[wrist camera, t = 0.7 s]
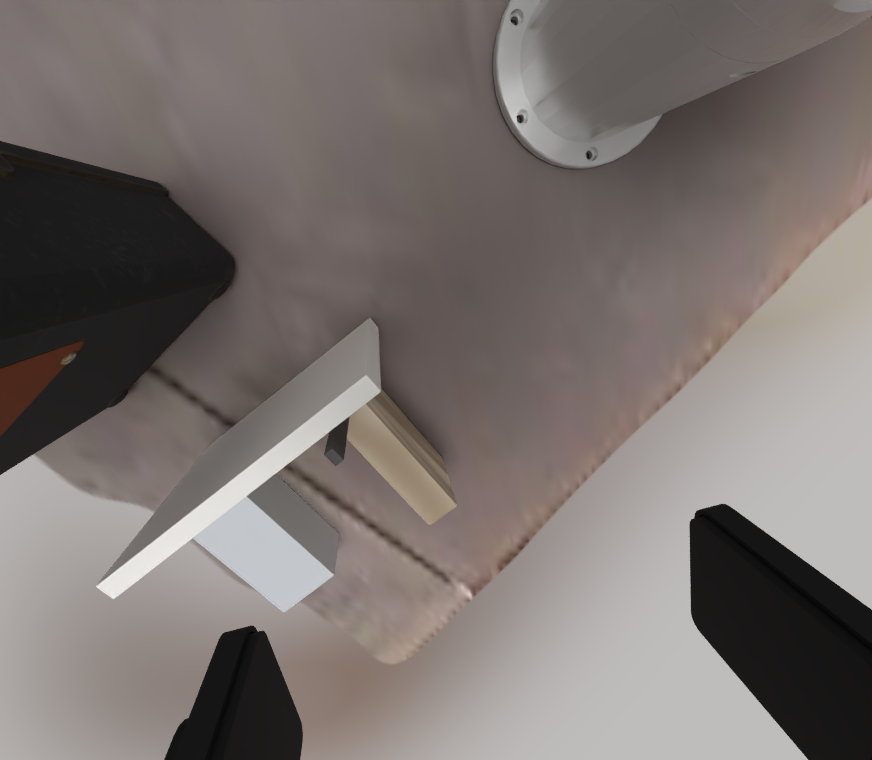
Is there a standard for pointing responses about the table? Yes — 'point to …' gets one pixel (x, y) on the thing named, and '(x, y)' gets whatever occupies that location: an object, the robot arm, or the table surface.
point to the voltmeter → (88, 290)
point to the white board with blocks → (262, 484)
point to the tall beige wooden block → (396, 455)
